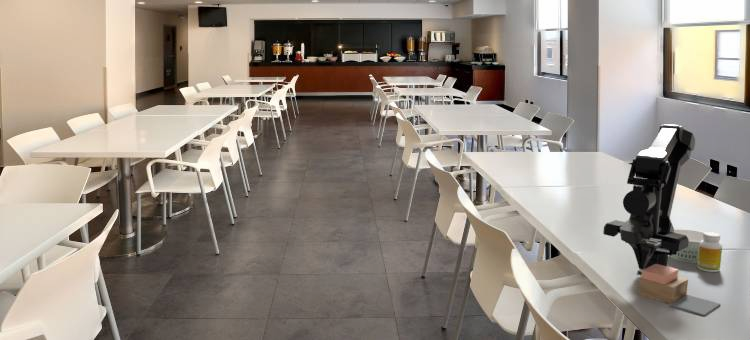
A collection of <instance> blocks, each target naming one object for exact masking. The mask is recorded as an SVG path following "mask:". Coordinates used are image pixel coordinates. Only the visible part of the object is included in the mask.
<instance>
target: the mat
mask: <svg viewBox="0 0 750 340" xmlns="http://www.w3.org/2000/svg"><path fill="white" fill-rule="evenodd" d="M669 307H672V308H675V309H678V310H682V311H684V312H689V313H692V314H695V315H698V316H702V317H705V316H707V315H708V314H710V313H711V312H713V311H714V310H716V309H717V308H719V307H721V303H719V302H716V301H711V300H708V299H704V298H700V297H697V296H694V295H690V294H687V295H686V296H684V297H682V298H680V299H679V300H677V301H675V302H674V303H672V304H669Z"/></svg>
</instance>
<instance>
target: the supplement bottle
mask: <svg viewBox="0 0 750 340" xmlns="http://www.w3.org/2000/svg"><path fill="white" fill-rule="evenodd" d="M703 232H704V231H703ZM703 239H704V240H702V241H701V242H700V244H699V254H698V263H696V264H697V269H698V270H700V271H703V272H707V273H717V272H719V271H720V270H721V262H722V252H723V244H722V242H720V240H721V234H720V233H717V232H713V231H711V232H710V231H706V232H704V233H703Z"/></svg>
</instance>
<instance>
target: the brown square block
mask: <svg viewBox="0 0 750 340" xmlns="http://www.w3.org/2000/svg"><path fill="white" fill-rule="evenodd" d="M638 280H639V281H638V289H637V290H638V291H637V294H638V295H639V296H642V297H646V298H650V299H653V300H656V301H659V302H664V303H666V304H669V305H670V304H672V303H674V302H675V301H677V300H679V299H680V298H682V297H684V296H686V295H688V294H687V293H688V284H689V279H688V278H684V277H680V276H678V277H677V278H675V279H674V280H672V281H670V282H668V283H666V284H661V283H657V282H653V281H650V280H646V279H642V278H641V277H639V279H638Z"/></svg>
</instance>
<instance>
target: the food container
mask: <svg viewBox="0 0 750 340" xmlns="http://www.w3.org/2000/svg"><path fill="white" fill-rule="evenodd" d="M674 233H677V234H682V235H686V236H687V238H688V240H689V243H688V247H687V248H685V249H682V250H680V251H677V254H676V255H672V256H670V255H669V257H671V259H673V260H677V261H680V262H684V263H685V262H686V263H694V264H697V263H698V254H699V244H700V242H701V241H702V240H704V239H703V233H704V231H700V230H695V229H685V228H684V229H683V228H676V229H675V228H674Z"/></svg>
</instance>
